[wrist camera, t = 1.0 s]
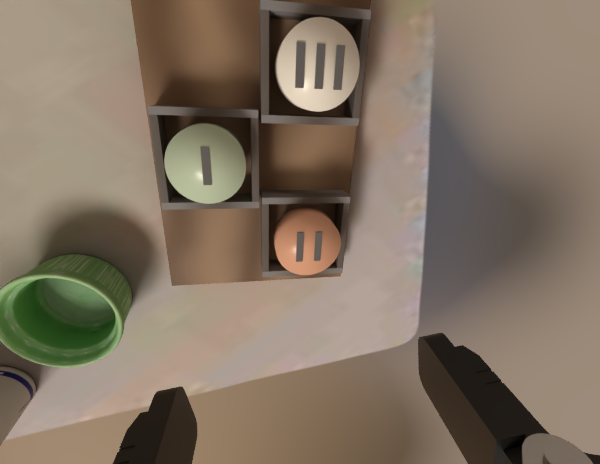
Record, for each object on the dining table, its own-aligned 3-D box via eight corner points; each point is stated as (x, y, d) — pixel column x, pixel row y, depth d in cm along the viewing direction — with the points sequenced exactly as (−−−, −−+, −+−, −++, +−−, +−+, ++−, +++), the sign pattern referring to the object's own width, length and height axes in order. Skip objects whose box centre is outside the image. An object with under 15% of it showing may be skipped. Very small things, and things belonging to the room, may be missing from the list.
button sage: (175, 195, 22) (169, 204, 20) (166, 121, 20) (158, 124, 18) (246, 194, 23) (247, 203, 21) (244, 123, 21) (244, 126, 19)
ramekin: (72, 226, 25) (41, 251, 21) (160, 292, 29) (147, 323, 25) (1, 291, 27) (-41, 326, 23) (94, 346, 30) (72, 384, 26)
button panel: (176, 273, 28) (167, 299, 25) (135, -27, 20) (112, -54, 16) (334, 265, 31) (346, 288, 27) (361, -3, 22) (384, -22, 19)
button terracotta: (272, 264, 26) (275, 277, 24) (273, 207, 24) (276, 216, 22) (331, 261, 27) (338, 274, 25) (336, 205, 25) (344, 215, 23)
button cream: (274, 108, 21) (277, 110, 19) (274, 20, 19) (278, 12, 17) (345, 111, 22) (355, 113, 20) (353, 27, 20) (364, 20, 18)
